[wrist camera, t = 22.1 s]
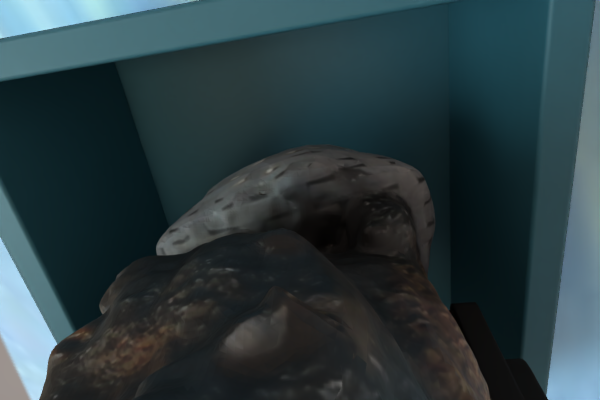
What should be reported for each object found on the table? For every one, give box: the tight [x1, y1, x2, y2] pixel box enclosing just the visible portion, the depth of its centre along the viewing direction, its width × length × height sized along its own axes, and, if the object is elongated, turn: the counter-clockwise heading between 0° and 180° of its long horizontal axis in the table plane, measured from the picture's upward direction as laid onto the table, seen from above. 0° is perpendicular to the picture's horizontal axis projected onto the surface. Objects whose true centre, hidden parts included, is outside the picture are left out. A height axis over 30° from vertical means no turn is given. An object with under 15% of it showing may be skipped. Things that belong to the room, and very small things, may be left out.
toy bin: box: [0, 0, 596, 395], centre depth 13 cm, size 12×17×7 cm
